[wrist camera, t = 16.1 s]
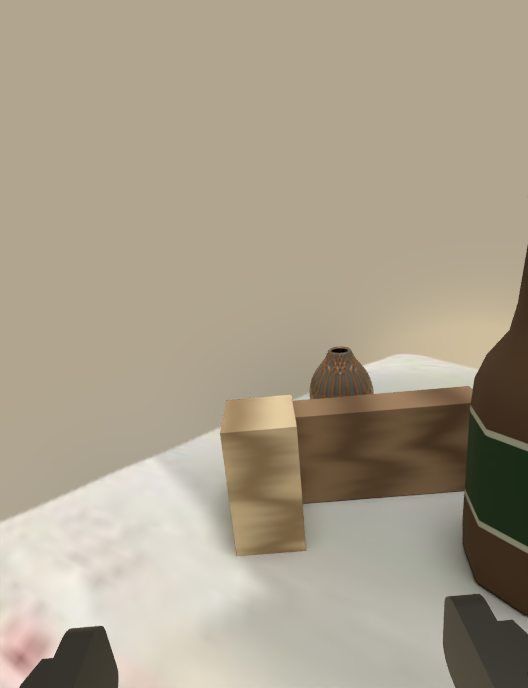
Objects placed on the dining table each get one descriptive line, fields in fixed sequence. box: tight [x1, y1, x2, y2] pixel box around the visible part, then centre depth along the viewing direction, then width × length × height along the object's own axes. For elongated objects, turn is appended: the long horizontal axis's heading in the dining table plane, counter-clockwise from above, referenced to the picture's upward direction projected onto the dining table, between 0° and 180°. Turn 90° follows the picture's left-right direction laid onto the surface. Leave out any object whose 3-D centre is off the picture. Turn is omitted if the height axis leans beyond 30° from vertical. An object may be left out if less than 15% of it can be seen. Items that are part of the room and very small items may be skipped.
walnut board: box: [292, 386, 473, 504], centre depth 35 cm, size 20×3×8 cm, turn 90°
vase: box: [310, 347, 373, 399], centre depth 46 cm, size 7×7×9 cm
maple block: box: [220, 395, 306, 556], centre depth 31 cm, size 5×5×10 cm
